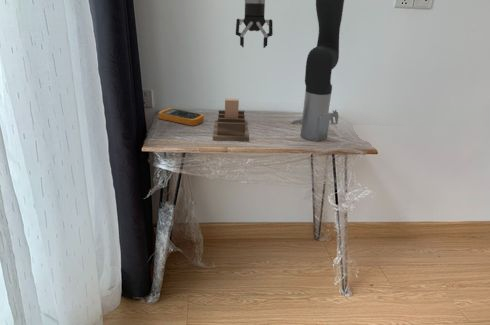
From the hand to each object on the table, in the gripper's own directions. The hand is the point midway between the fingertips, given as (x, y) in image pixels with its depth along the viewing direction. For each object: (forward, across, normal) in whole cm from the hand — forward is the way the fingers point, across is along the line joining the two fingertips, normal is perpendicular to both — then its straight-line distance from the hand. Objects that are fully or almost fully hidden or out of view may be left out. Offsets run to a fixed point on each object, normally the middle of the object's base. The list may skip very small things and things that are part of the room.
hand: (253, 47), depth 142 cm
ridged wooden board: (+29, -8, -17) cm, 35 cm away
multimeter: (+29, -29, -5) cm, 41 cm away
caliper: (+30, +26, -3) cm, 40 cm away
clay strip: (+28, -9, -17) cm, 34 cm away
